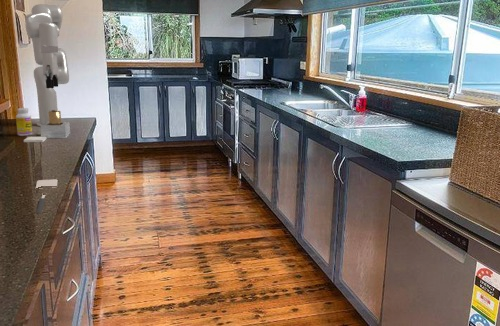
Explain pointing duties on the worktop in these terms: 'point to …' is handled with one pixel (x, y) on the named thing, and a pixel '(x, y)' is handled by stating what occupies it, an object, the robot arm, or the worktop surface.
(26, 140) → the tile
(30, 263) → the worktop surface
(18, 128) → the supplement bottle
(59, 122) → the tan capped cylinder
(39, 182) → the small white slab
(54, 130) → the housing
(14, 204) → the worktop surface
